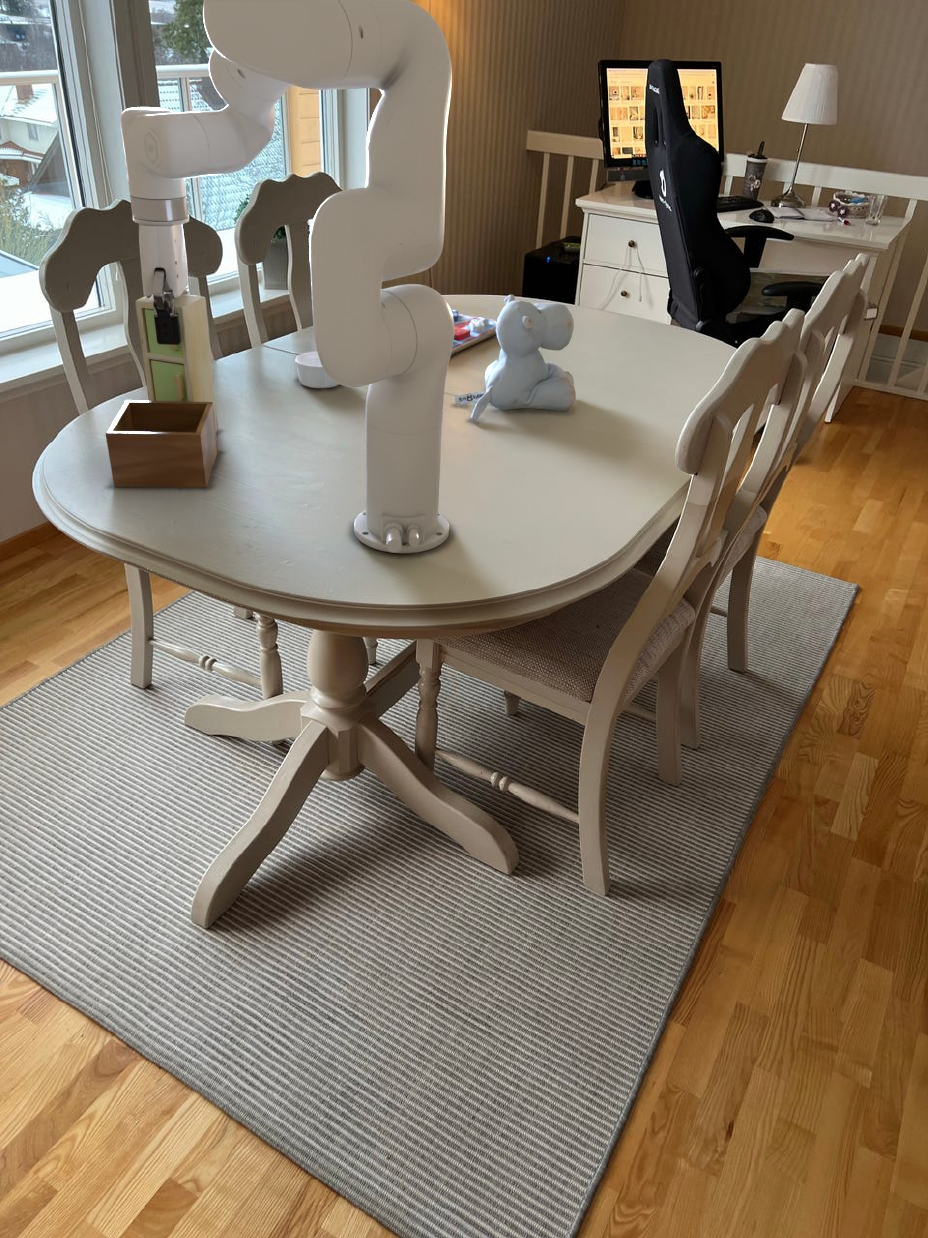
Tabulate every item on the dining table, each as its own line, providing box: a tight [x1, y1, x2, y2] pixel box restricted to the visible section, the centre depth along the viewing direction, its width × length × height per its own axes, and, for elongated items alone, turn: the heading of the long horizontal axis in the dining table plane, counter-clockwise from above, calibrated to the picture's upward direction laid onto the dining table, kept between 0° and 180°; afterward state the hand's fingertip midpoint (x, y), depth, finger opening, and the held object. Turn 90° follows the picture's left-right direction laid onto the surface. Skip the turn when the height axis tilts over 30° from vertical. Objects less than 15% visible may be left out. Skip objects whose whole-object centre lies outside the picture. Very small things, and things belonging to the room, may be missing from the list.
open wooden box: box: [105, 399, 219, 489], centre depth 135 cm, size 13×13×8 cm
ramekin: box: [294, 351, 340, 389], centre depth 170 cm, size 9×9×4 cm
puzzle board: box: [451, 309, 497, 356], centre depth 198 cm, size 30×23×3 cm
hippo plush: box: [454, 294, 577, 422], centre depth 164 cm, size 18×23×18 cm
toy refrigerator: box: [134, 292, 219, 432], centre depth 142 cm, size 8×7×21 cm
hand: (174, 334), depth 139 cm, fingers closed on toy refrigerator, 8 cm apart
